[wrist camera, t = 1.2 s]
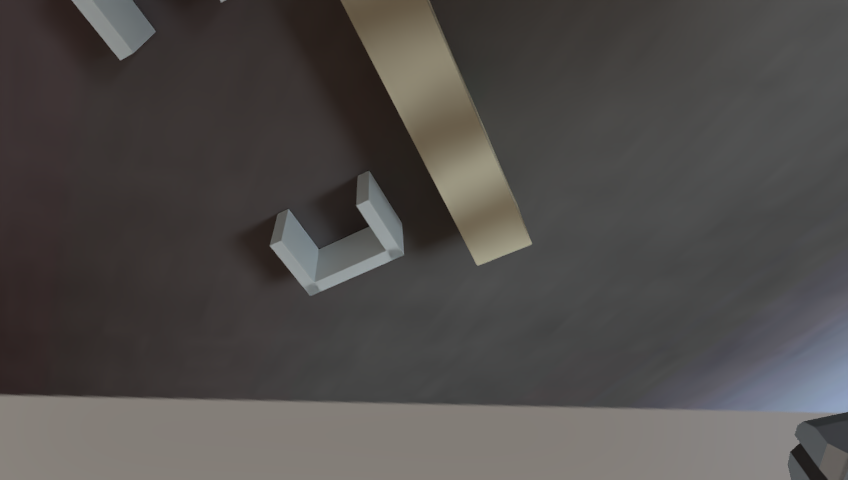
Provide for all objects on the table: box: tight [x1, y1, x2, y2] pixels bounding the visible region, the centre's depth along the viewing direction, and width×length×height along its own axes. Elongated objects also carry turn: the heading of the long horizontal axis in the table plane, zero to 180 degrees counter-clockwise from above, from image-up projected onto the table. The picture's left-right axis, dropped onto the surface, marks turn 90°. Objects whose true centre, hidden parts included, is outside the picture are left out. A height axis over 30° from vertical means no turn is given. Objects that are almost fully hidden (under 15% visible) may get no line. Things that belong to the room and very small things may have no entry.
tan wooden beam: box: [341, 0, 532, 266], centre depth 33 cm, size 18×4×4 cm, turn 24°
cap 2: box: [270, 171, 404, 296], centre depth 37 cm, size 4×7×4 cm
